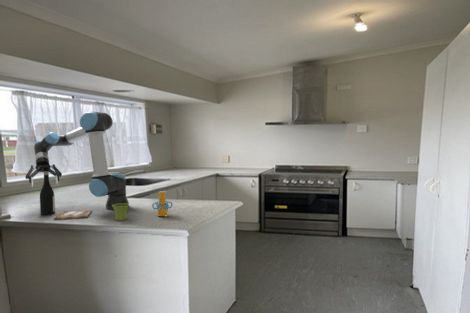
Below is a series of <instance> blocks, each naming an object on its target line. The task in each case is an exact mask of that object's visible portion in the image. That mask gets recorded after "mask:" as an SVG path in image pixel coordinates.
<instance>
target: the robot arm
mask: <svg viewBox="0 0 470 313" xmlns="http://www.w3.org/2000/svg"><path fill="white" fill-rule="evenodd" d="M79 125H80V127H78V128H76V129H73V130H71V131H70V132H67V133H65V134H57V133H56V132H54V131H51V132H48V133H47V134H46V135H45V137H44V138H42V139H41V140H38V141H35V143H34V145H33V146H34V148H33V150H34V156H35V165H33V164H31V165H30V168H29V170H28V172H27V173H26V175H25V180H28V182H29V184H31V189H34V178H35V176H36V175H37V174H39V173H44V170H43V167H49V174H51V175H52V176H54V177H55V183H56V187H57V186H59V182H60V178H61V177H62V174H63V173H62V172H61V171H60V170H59V168H57V167H56V165H55V164H50V160H49V159H50V158H49V151H50V150H51V149H52V148H53V147H65V146H66V147H68V146H72V145H73V144H74V143H76V142H79V141H81V140H83V139H85V138H87V137H88V141H89V148H90V156H91V163H92V170H93V174H92V175H91V180H90V181H89V184H88V188H89V192H90V193H91V194H92V195H93V196H95V197H97V198H102V197H107V199H106V203H105V209H106V210H110V211H111V210H112V211H114V209H113V207H112V205H114V204H120V203H126V204H129V206H128V208H129V207H130V203H129V201H128V196H127V185H126V183H127V178H126V174H122V173H121V174H120V173H111V172H109V169H108V162H107V154H106V153H107V152H106V146H105V141H104V140H105V138H104V134H105V133H106V131H108V130H110V129H111V128H112V126H113V118H112V117H111V115H110V114H108V113H106V112H100V111H99V112H98V111H86V112H84V113H83V114H82V115H81V116H80V119H79Z"/></svg>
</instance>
